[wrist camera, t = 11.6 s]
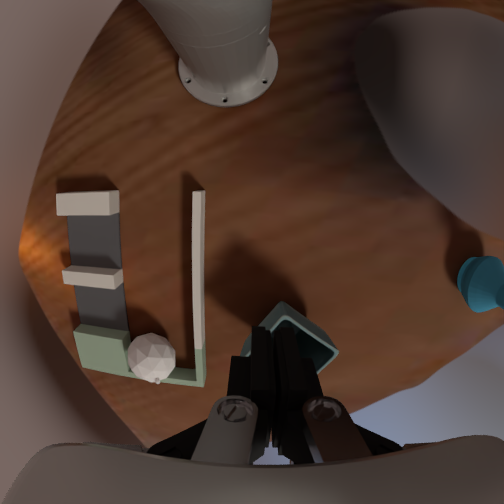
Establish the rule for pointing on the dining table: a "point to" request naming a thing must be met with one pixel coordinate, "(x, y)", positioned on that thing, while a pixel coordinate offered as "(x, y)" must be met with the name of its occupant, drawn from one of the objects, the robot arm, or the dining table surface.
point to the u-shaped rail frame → (119, 283)
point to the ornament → (151, 357)
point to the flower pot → (299, 335)
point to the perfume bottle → (482, 283)
